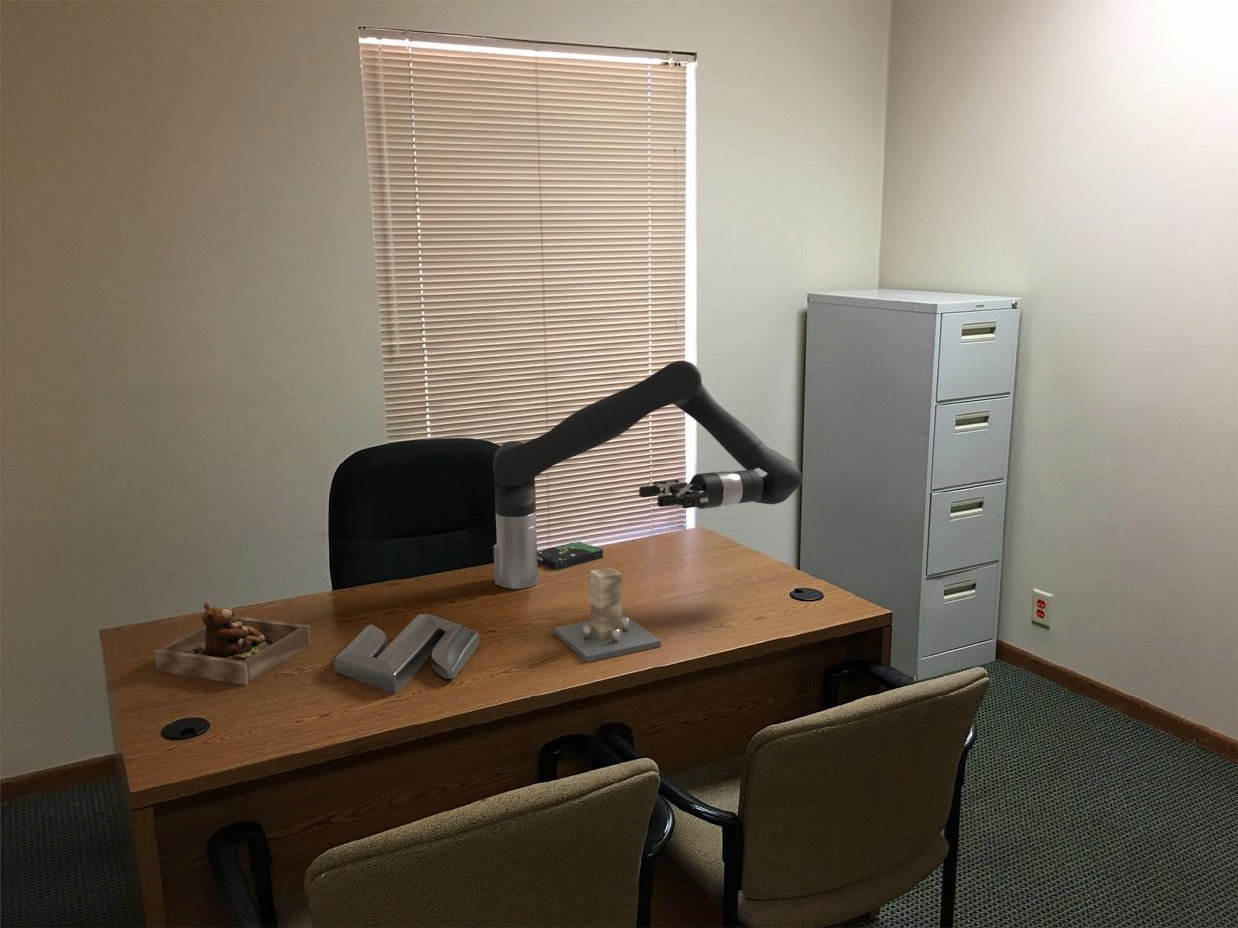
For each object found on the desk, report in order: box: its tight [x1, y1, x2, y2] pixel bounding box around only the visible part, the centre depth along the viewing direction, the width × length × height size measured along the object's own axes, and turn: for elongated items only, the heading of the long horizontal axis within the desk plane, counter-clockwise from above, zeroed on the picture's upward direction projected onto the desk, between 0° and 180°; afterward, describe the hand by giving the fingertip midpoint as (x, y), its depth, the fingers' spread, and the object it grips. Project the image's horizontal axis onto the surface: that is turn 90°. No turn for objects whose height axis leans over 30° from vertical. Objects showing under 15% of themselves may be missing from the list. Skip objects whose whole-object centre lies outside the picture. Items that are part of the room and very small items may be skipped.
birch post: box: [589, 566, 623, 640], centre depth 197 cm, size 5×5×13 cm
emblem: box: [334, 613, 480, 695], centre depth 190 cm, size 28×5×28 cm
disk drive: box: [537, 541, 604, 571], centre depth 249 cm, size 10×3×15 cm
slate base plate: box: [553, 613, 662, 663], centre depth 199 cm, size 16×16×4 cm
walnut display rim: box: [153, 615, 312, 686], centre depth 193 cm, size 20×19×4 cm
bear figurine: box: [193, 603, 269, 661], centre depth 192 cm, size 14×15×12 cm
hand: (648, 496), depth 207 cm, fingers open, 8 cm apart
